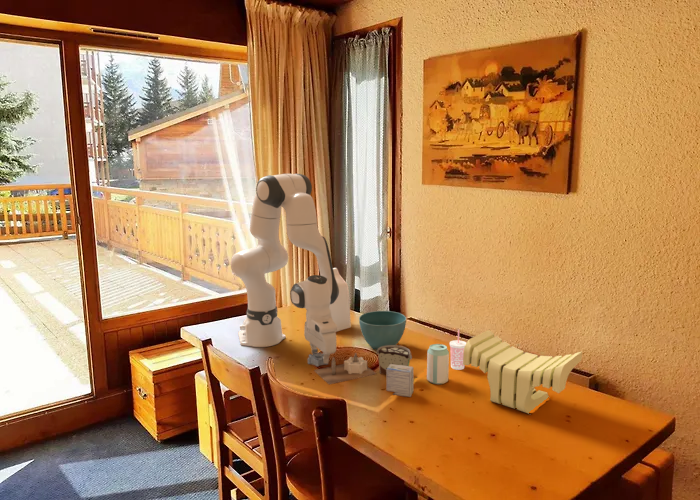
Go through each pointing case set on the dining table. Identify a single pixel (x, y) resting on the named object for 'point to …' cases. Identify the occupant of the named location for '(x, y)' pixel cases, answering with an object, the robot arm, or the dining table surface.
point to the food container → (393, 356)
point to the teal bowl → (382, 328)
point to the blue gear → (316, 359)
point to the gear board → (341, 373)
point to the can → (437, 364)
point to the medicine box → (400, 380)
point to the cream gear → (355, 365)
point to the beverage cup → (457, 353)
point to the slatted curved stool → (517, 371)
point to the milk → (341, 304)
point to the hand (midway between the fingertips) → (320, 358)
